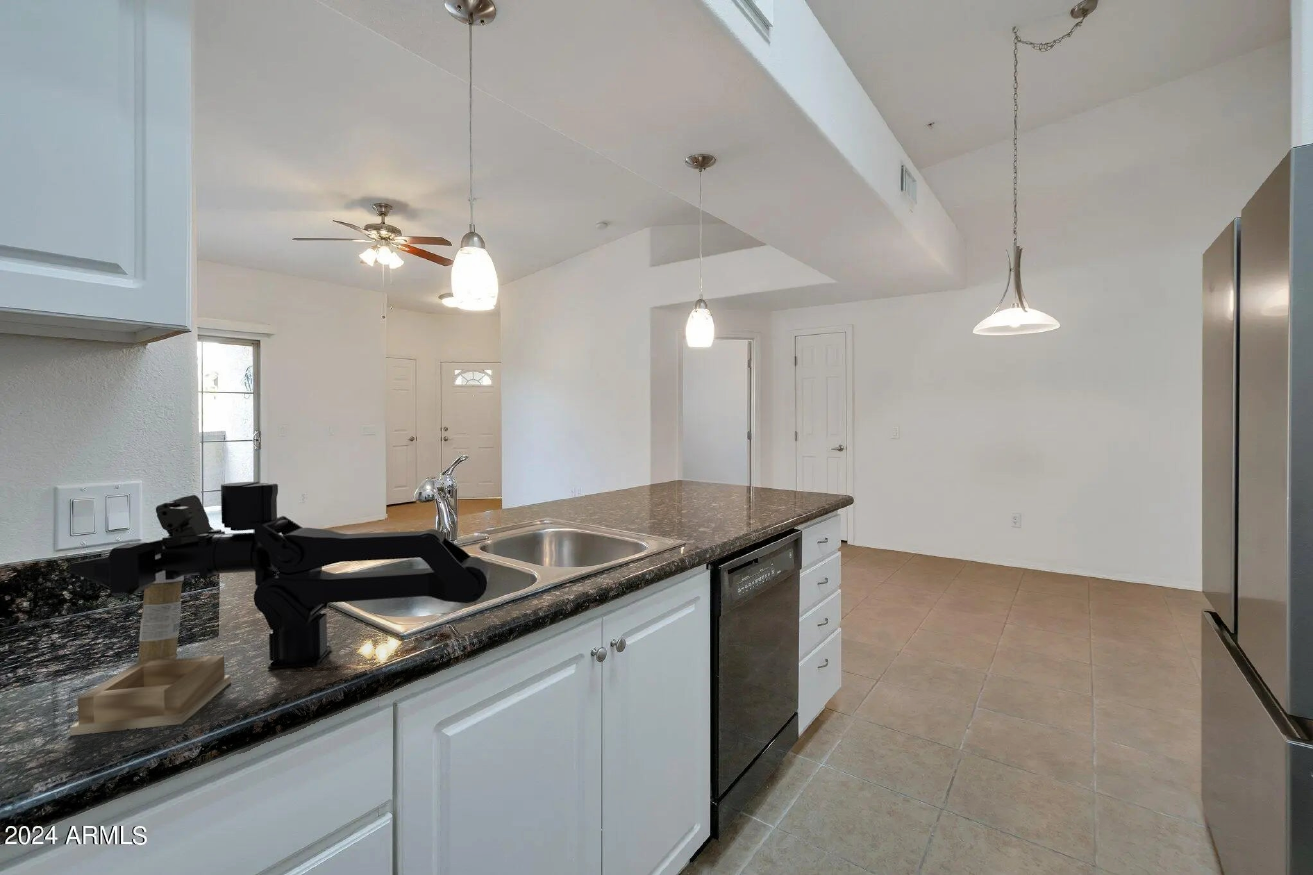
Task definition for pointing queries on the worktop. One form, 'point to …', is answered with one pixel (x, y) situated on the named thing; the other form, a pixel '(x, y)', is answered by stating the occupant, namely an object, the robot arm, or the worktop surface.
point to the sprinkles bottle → (160, 619)
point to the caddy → (151, 695)
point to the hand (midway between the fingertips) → (96, 559)
